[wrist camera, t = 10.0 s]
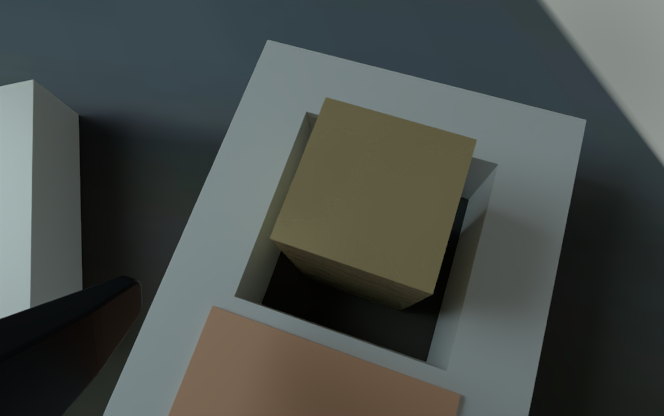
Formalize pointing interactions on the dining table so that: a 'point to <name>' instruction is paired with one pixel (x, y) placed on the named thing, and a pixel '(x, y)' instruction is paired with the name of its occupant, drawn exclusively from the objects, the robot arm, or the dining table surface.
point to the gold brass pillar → (373, 204)
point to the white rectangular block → (38, 198)
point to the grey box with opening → (330, 345)
